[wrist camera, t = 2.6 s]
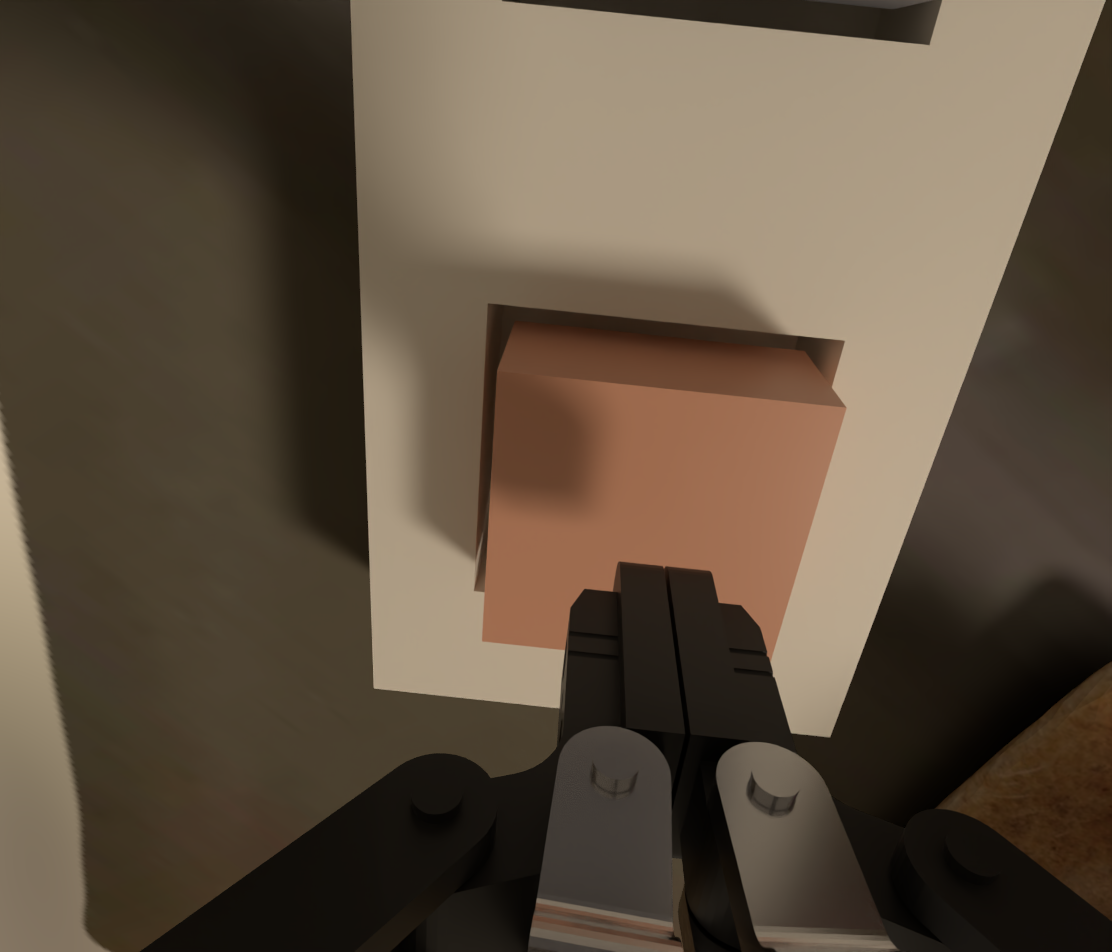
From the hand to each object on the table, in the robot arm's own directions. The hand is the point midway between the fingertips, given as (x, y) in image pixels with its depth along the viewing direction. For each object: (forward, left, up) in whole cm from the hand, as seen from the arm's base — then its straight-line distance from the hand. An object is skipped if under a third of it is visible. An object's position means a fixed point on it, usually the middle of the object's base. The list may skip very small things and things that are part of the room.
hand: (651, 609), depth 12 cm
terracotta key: (0, 0, -5) cm, 5 cm away
